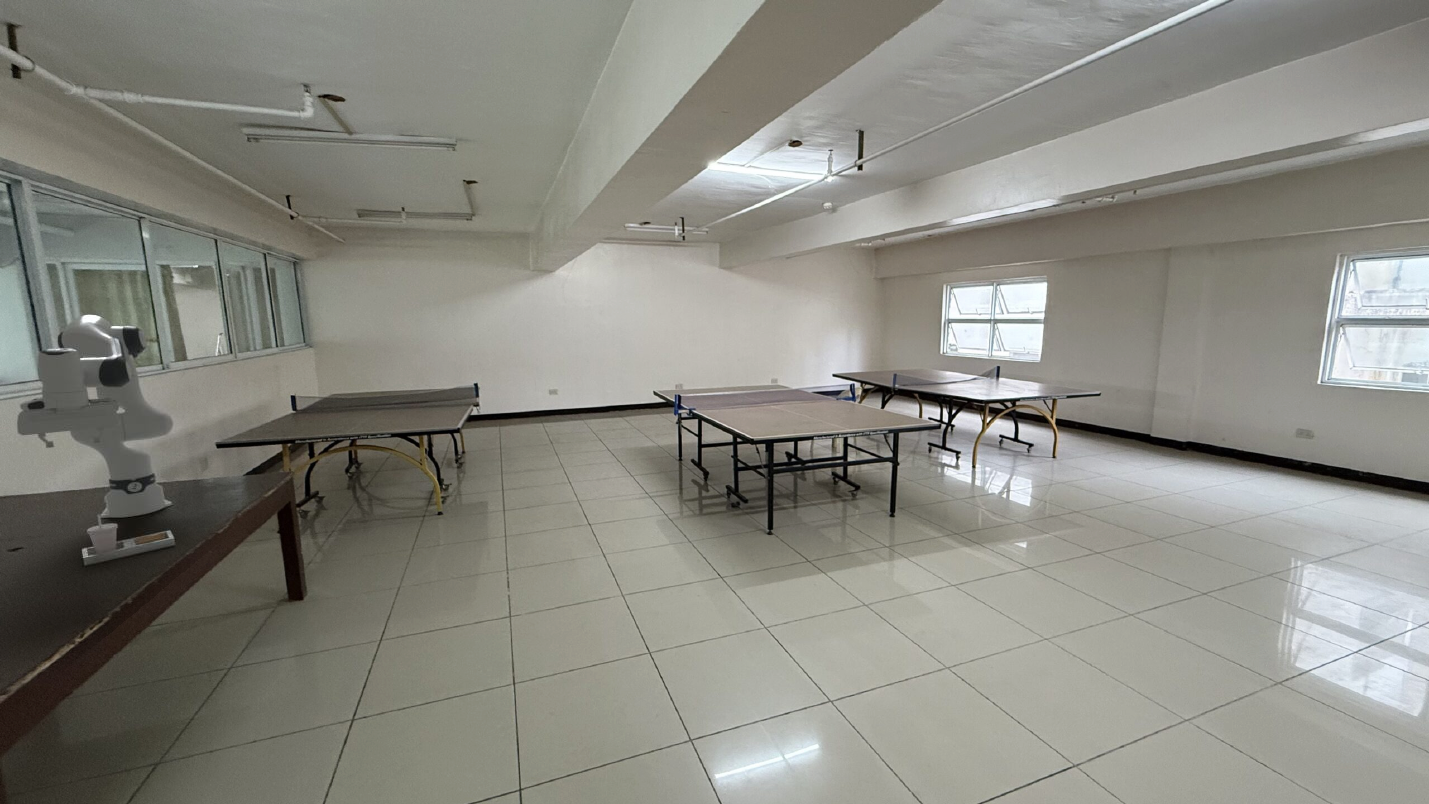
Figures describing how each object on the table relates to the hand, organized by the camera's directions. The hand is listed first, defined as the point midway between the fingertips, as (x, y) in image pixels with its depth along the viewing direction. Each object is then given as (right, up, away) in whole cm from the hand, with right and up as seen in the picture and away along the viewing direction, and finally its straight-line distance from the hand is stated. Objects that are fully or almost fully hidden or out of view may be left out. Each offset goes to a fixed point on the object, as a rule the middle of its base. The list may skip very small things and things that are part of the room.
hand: (74, 444), depth 163 cm
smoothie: (+6, -36, +4) cm, 37 cm away
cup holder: (+9, -35, +7) cm, 37 cm away
